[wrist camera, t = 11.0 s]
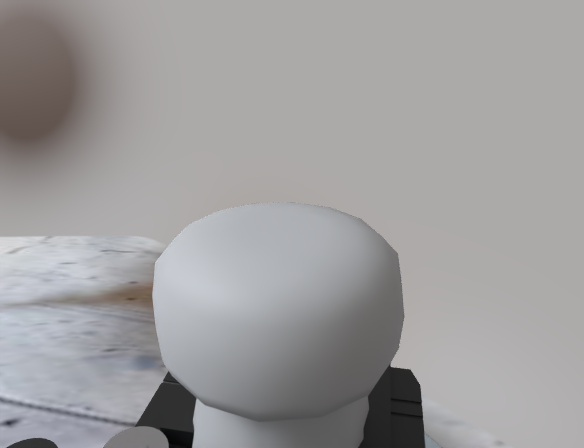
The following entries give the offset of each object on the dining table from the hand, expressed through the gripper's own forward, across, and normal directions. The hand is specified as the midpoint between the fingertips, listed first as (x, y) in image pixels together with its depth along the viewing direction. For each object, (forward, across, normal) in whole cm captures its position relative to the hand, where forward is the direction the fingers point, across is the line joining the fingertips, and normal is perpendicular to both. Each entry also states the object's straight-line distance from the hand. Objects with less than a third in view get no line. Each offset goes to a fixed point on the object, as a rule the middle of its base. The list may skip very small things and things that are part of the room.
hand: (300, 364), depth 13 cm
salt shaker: (-3, 0, +8) cm, 8 cm away
